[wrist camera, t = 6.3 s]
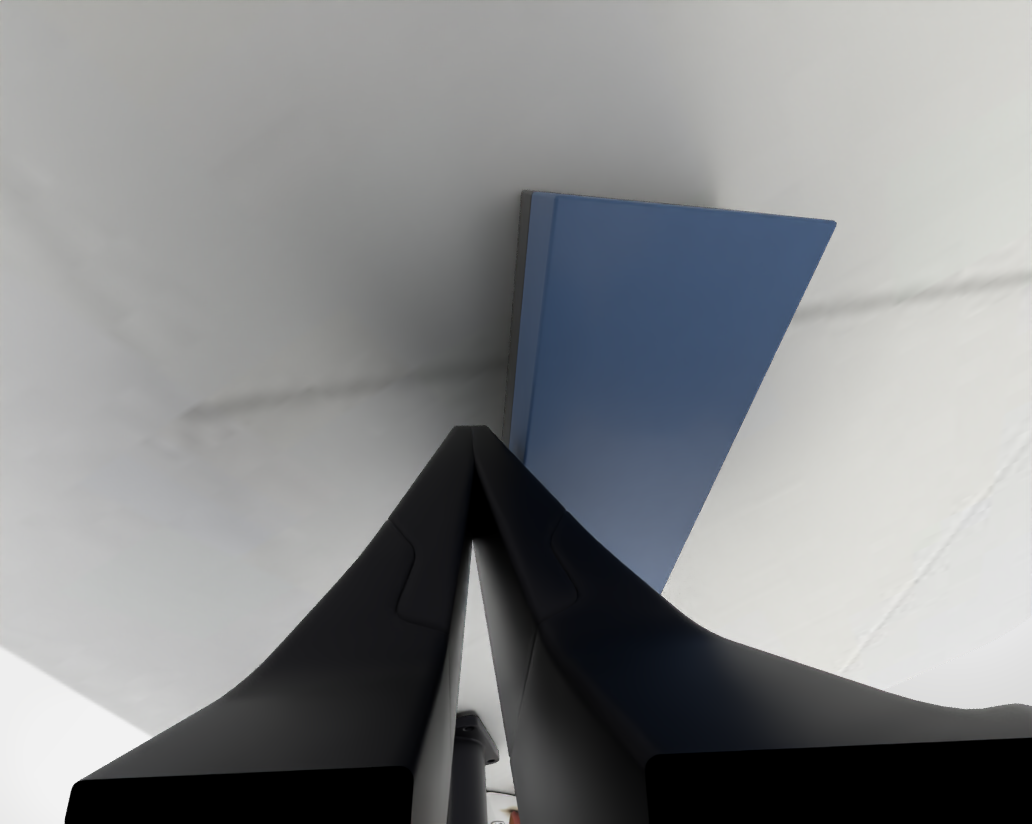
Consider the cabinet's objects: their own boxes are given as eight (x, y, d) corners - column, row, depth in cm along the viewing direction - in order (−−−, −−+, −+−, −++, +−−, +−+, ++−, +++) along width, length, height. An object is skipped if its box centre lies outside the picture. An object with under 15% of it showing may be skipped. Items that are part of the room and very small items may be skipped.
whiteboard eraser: (619, 523, 13) (657, 603, 11) (494, 530, 13) (505, 618, 10) (721, 208, 8) (839, 221, 6) (520, 189, 7) (555, 194, 5)
